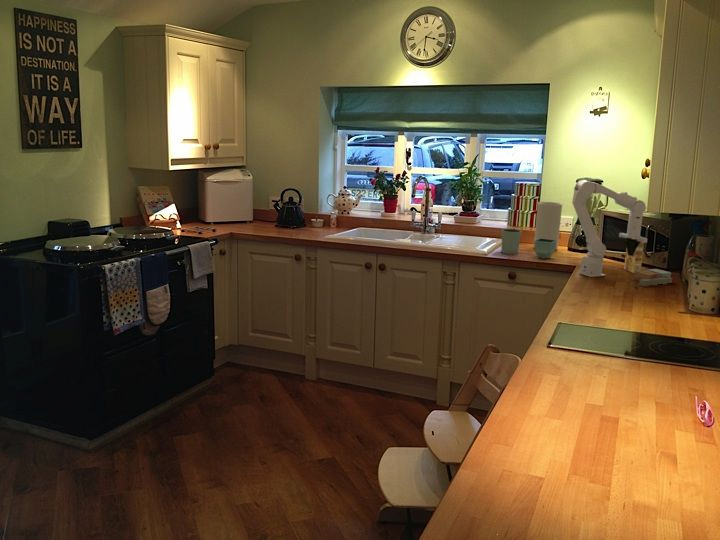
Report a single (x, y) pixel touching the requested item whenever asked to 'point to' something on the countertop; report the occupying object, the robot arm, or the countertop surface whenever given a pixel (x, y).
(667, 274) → the grey-blue block
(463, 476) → the countertop surface
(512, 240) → the green tapered cup
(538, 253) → the flower pot
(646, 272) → the walnut block
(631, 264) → the candy box
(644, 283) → the stop rail
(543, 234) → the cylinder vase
